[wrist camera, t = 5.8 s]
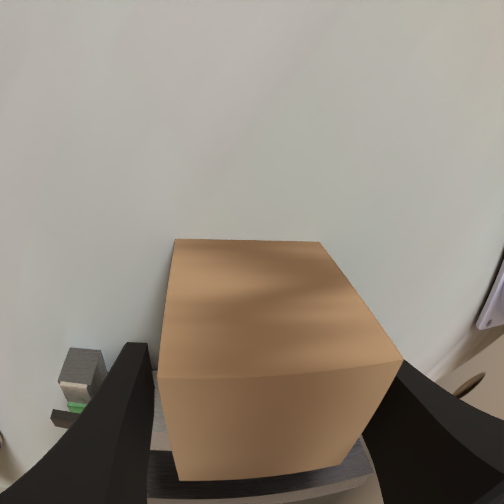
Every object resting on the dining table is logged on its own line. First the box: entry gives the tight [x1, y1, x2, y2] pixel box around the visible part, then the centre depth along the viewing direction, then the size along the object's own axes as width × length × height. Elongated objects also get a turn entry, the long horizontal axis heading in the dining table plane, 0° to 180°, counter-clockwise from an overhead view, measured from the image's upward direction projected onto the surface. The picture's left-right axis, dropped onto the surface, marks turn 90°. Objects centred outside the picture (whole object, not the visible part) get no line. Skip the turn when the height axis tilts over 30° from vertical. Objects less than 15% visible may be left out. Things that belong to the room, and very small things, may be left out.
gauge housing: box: [58, 348, 374, 504], centre depth 13 cm, size 15×8×4 cm, turn 85°
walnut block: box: [157, 239, 404, 481], centre depth 9 cm, size 5×5×6 cm
